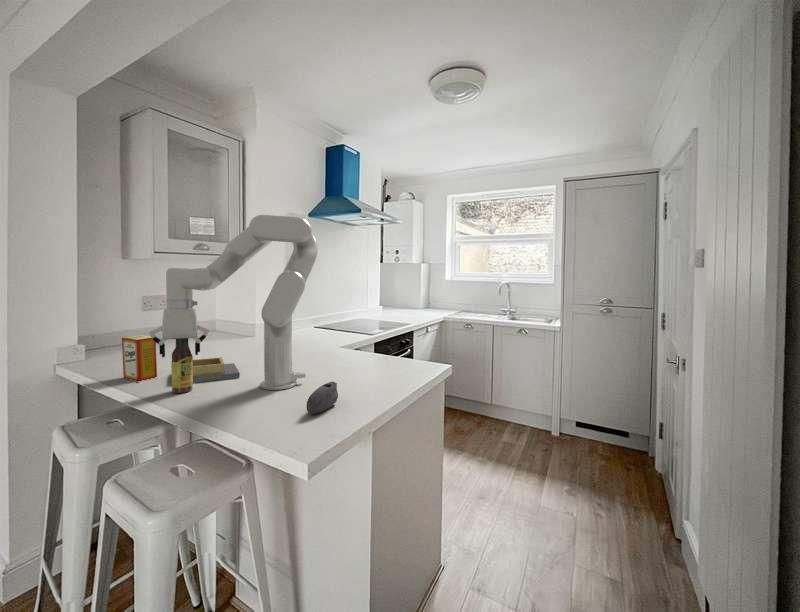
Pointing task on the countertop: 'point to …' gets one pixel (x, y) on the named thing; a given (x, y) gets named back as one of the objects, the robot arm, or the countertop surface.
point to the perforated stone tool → (322, 398)
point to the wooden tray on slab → (213, 370)
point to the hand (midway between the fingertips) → (180, 355)
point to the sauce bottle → (182, 367)
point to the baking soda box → (139, 357)
